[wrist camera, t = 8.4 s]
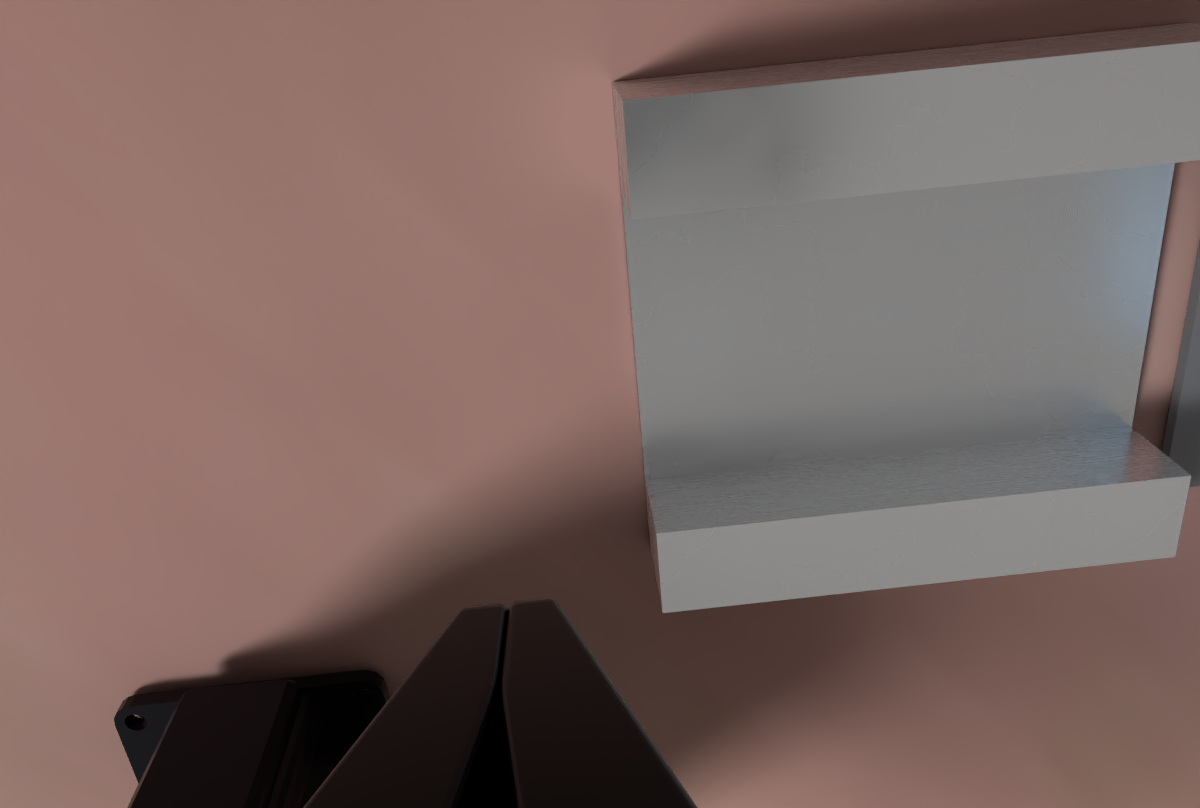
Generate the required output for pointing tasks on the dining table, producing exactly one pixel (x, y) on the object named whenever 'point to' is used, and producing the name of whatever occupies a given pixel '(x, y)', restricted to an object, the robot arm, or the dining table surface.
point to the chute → (902, 312)
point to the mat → (1187, 392)
